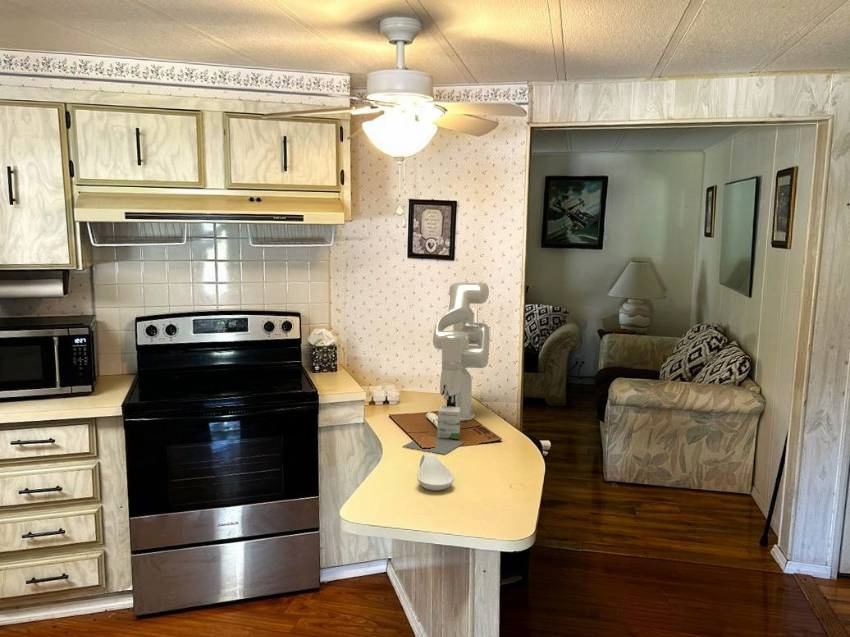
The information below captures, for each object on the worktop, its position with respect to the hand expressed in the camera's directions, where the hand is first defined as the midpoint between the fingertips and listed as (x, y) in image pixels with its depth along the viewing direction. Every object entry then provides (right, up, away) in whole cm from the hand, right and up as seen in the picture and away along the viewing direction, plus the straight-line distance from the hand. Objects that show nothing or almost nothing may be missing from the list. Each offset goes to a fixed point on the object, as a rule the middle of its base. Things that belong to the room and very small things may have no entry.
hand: (451, 411), depth 271 cm
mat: (-7, -11, -10) cm, 17 cm away
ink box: (-1, -9, -1) cm, 10 cm away
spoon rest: (-8, -17, -46) cm, 50 cm away
